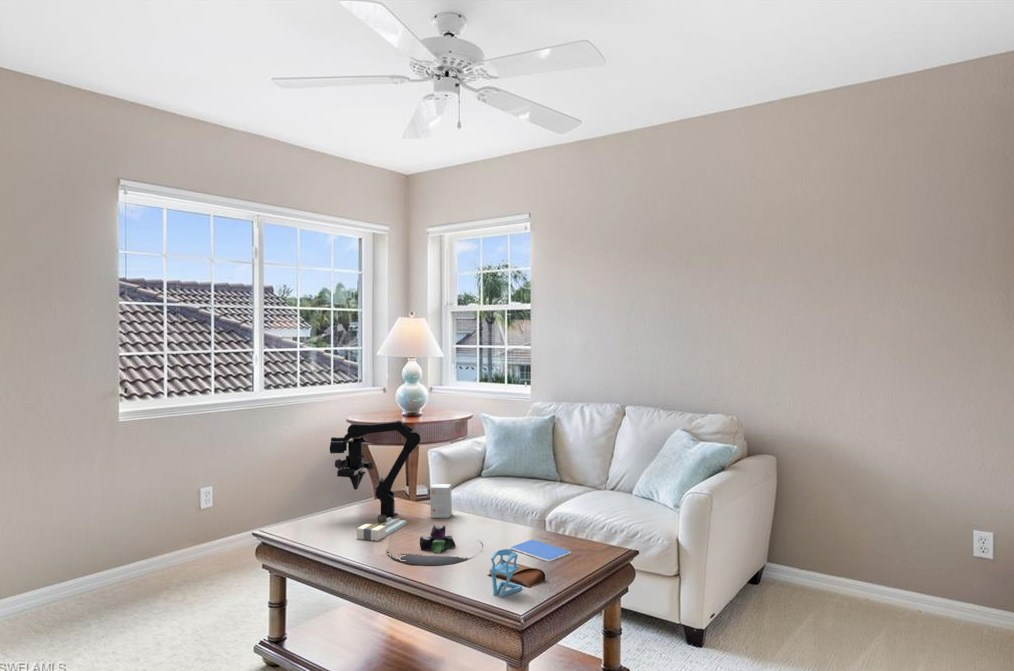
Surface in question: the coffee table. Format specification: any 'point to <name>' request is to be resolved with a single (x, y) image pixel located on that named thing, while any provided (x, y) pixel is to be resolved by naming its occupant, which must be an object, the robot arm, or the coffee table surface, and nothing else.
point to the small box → (440, 500)
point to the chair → (504, 572)
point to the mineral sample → (433, 549)
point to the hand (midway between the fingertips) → (355, 489)
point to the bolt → (380, 521)
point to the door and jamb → (379, 529)
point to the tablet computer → (540, 550)
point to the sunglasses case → (523, 575)
